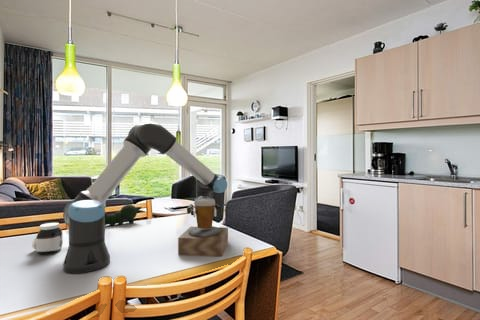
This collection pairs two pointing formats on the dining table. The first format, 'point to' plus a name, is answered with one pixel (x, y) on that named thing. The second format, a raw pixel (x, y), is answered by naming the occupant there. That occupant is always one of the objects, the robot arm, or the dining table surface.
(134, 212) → the dark green lumpy figure
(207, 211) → the disposable coffee cup
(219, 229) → the block
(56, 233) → the spread jar
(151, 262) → the dining table surface
